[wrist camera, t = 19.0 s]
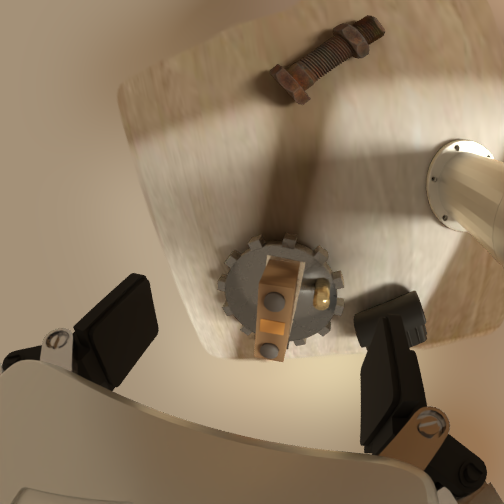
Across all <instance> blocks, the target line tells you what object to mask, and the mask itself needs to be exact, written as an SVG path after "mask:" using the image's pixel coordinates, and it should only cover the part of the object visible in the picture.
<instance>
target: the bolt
mask: <svg viewBox="0 0 504 504" xmlns="http://www.w3.org/2000/svg"><path fill="white" fill-rule="evenodd" d="M384 33H385V29H384V28H383V26H382V25H381V24H380V22H379V21H378V20H377V18H375V17H373V16H369V15H367V16H365V17H364V18H363V19H361V20H359V21H357V22H356V23H354V24H353V25H349V24H340V25H338V26H337V27H335V28H334V29H333V34H334V36H335V37H332V38H331V39H329V40H328V41H326V42H325V43H324V44H322V45H320V47H318V48H316V49H315V50H314V51H312V52H311V53H309V55H308V54H307V56H305V58H304V57H303V59H300V61H298V62H296V63H294V64H293V65H291V66H290V67H289V68H287V69H286V70H285V69H284V68H283V67H281V66H280V65H278V64H277V65H276V66H275V67H273V68H272V69H271V70H270V74H271V75H272V76H273V77H274V78H275V80H276V81H277V82H278V83H279V84H280V85H281V86H282V87H283V88H284V89H285V90H286V91H287V92H288V93H289V95H290V96H291V97H292V98H293V99H294V100H295V101H296V102H297V103H298V104H302V105H304V104H305V103H306V102H308V101H309V100H310V97H309V96H308V95H307V93H306V92H305V90H307V89H308V88H309V87H311V86H312V85H313V84H314V83H315V82H316V80H318V78H319V79H320V77H322V75H323V76H324V75H325V74H327V72H329V71H331V69H333V68H335V66H338V65H340V63H342V62H344V60H346V59H348V58H350V56H353V57H355V58H363V57H365V56H366V55H368V54H369V44H370V43H372V42H374V41H376V40H378V38H381V37H382V36H384ZM324 73H325V74H324Z"/></svg>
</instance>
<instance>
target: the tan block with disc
mask: <svg viewBox="0 0 504 504" xmlns="http://www.w3.org/2000/svg"><path fill="white" fill-rule="evenodd" d="M299 266H300V264H298V263H291V262H284V261H277V260H271V259H269V261H268V263H267V266H266V268H265V270H264V272H263V275H262V277H261V279H260V281H259V288H258V305H257V321H256V337H255V353H254V357H258V358H264V359H269V360H274V361H280V362H283V361H284V356H285V352H286V348H287V343H288V339H289V335H290V329H291V322H292V316H293V309H294V302H295V296H296V288H297V281H298V274H299Z"/></svg>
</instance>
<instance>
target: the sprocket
mask: <svg viewBox="0 0 504 504" xmlns="http://www.w3.org/2000/svg"><path fill="white" fill-rule="evenodd" d="M296 241H297V235H295V234H290V233H285V235H284V238H283V240H274V241H266V242H265V240H264V237H263V235H262V234H261V235H258V236H255V237H252V238H251V239H250V241H249V242H248V245H249V247H250V248H249V249H247V250H246V251H245V252H243V253H242V254H240V253H239V252H237V251H236V250H234V251H233V252H232V254H231V255H230V256H229V257H228V259H227V260H226V262H225V263H224V264H226V265H227V266H228V267H230V268H231V269H230V271H229V273H228V275H225V274H222V276H221V277H220V279H219V280H218V290H220V291H224V292H225V295H226V302H225V304H224V305H223V307H222V308H223V310H224V312H225V313H226V315H227V316H228V315H234V316H235V317H236V319H237V320H238V321H239V322H240V323H241V324H242V326H241V329H240V330H241V331H242V332H244V333H245V334H247V335H249V334H250V333H251V332H253V333H255V334H256V321H257V305H258V288H259V281H260V279H261V277H262V275H263V272H264V270H265V268H266V266H267V263H268V261H269V259H271V260H277V261H284V262H291V263H298V264H300V266H299V274H298V281H297V288H296V296H295V302H294V309H293V316H292V322H291V329H290V335H289V339H288V341H294V343H295V345H296V346H299V345H304V344H306V338H307V337H310V336H312V335H314V334H316V333H319V334H320V335H322V336H324V335H326V334H327V333H328V332H329V331H330V329H331V322H330V320H331V318H332V316H333V314H334V315H340V316H341V315H342V312H343V309H344V299H342V298H337V289H340V288H344V279H343V276H342V273H341V270H339V271H336V272H332V270H331V268H330V267H329V265H328V264H327V263H326V261H327V260H328V252H327V251H326V250H325V249H323V248H322V247H321V246H320V245H319V246H318V247H317V248H316V249H315V250H314V251H313V250H311V249H310V248H308V247H306V246H303V245H301V244H298V243H296Z"/></svg>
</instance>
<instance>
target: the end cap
mask: <svg viewBox="0 0 504 504" xmlns="http://www.w3.org/2000/svg"><path fill="white" fill-rule="evenodd" d="M386 314H395V315H400V316H401V317H402V321H403V325H404V329H405V332H406V336H407V340H408V345H409V348H410V347H413V346H415V345H418V344H420V343H422V342H425V341H426V339H427V337H426V334H427V332H426V328H425V323H426V318H425V315H424V312H423V309H422V306H421V303H420V300H419V297H418V295H417V293H416V291H412V292H410V293H407V294H405V295H403V296H400V297H398V298H395V299H393V300H391V301H388V302H386V303H383V304H381V305H378V306H376V307H373V308H371V309H368V310H366V311H363V312H360V313H358V314H355V315H354V327H355V331H356V335H357V338H358V341H359V344H360V346H361V347H366V349H367V351H368V349H369V346H370V344H371V341H372V338H373V336H374V333H375V330H376V327H377V325H378V322H379V319H380V317H385V315H386Z"/></svg>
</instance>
